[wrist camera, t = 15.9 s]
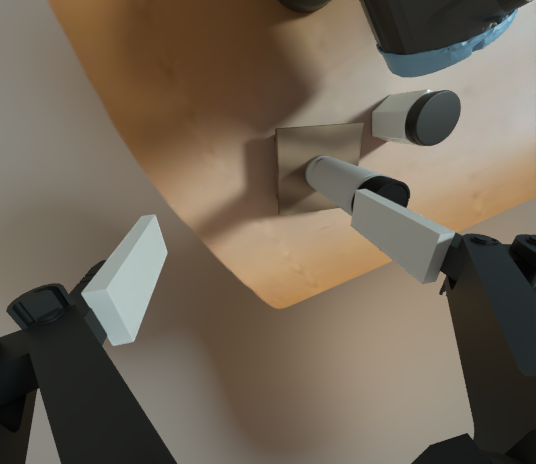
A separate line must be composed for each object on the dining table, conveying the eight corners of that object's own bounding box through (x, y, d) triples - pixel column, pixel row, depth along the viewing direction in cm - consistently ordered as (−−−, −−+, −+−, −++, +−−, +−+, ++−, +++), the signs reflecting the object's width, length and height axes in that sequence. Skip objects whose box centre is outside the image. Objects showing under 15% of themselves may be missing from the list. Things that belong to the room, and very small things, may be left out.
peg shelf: (270, 127, 42) (277, 128, 37) (346, 122, 45) (363, 122, 39) (273, 205, 50) (280, 215, 45) (339, 197, 52) (352, 206, 47)
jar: (362, 133, 46) (404, 137, 36) (381, 89, 43) (433, 80, 33) (395, 145, 49) (442, 152, 39) (414, 105, 46) (472, 101, 35)
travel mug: (304, 154, 40) (371, 182, 22) (337, 155, 41) (425, 181, 24) (300, 188, 43) (357, 236, 25) (332, 187, 44) (406, 233, 27)
